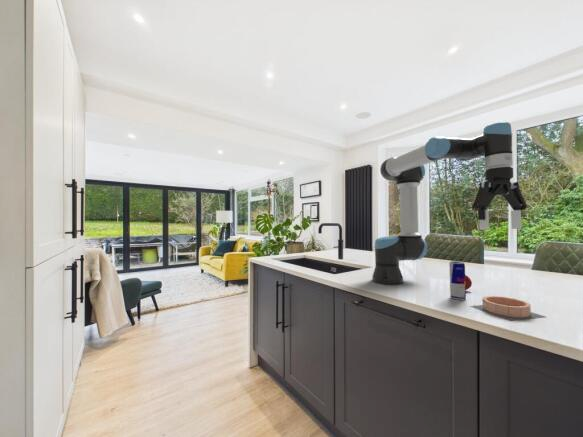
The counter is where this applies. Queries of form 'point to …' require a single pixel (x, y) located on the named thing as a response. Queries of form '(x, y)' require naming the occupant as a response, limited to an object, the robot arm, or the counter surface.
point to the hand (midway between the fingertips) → (500, 229)
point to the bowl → (507, 306)
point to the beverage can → (457, 280)
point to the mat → (532, 316)
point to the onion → (467, 282)
